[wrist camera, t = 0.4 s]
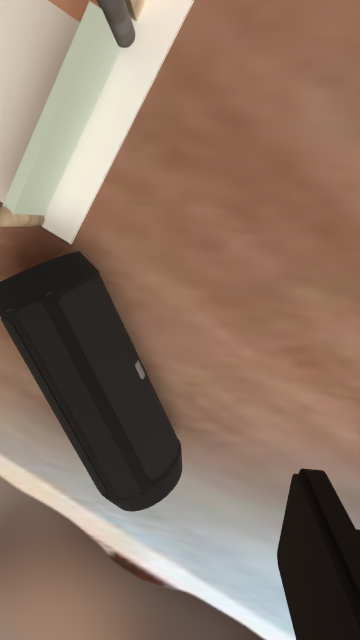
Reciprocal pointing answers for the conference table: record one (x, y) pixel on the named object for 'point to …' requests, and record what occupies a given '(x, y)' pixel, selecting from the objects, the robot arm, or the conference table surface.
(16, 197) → the folding fence panel
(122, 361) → the portable speaker
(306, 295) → the conference table surface
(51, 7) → the card
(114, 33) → the fixed fence section
